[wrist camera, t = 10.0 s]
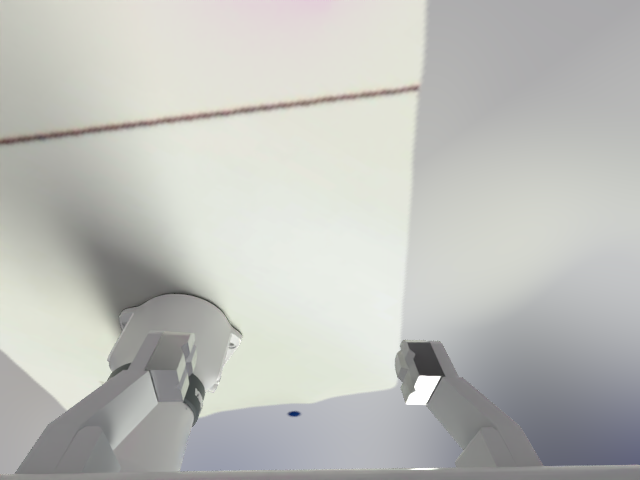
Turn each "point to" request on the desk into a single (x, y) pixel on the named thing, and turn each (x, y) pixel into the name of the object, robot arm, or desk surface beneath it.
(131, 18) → the desk surface
